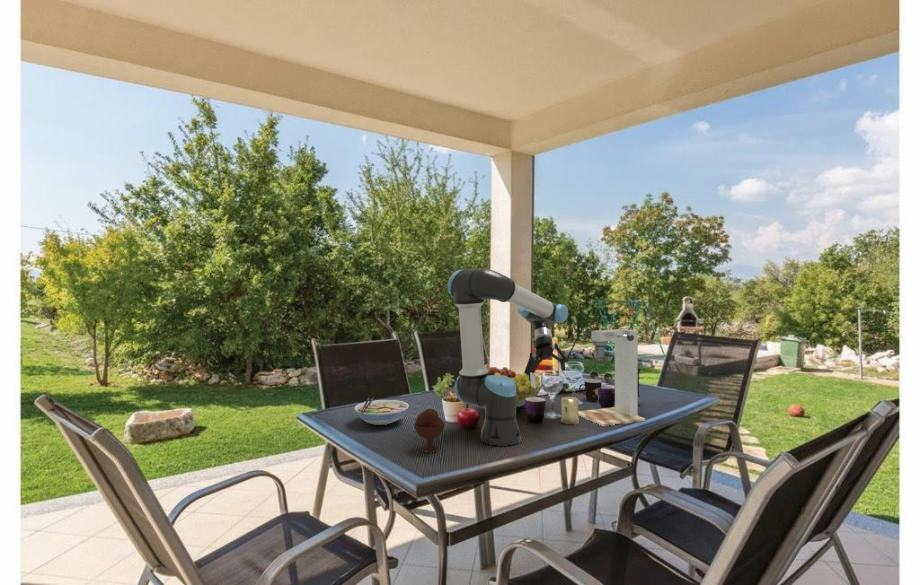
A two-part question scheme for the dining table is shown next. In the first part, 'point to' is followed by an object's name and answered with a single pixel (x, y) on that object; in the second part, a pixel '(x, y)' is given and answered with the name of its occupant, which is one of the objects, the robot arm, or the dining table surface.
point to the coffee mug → (591, 389)
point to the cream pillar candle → (570, 410)
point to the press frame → (622, 366)
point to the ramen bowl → (381, 411)
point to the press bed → (609, 417)
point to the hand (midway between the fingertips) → (547, 382)
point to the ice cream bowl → (429, 427)
